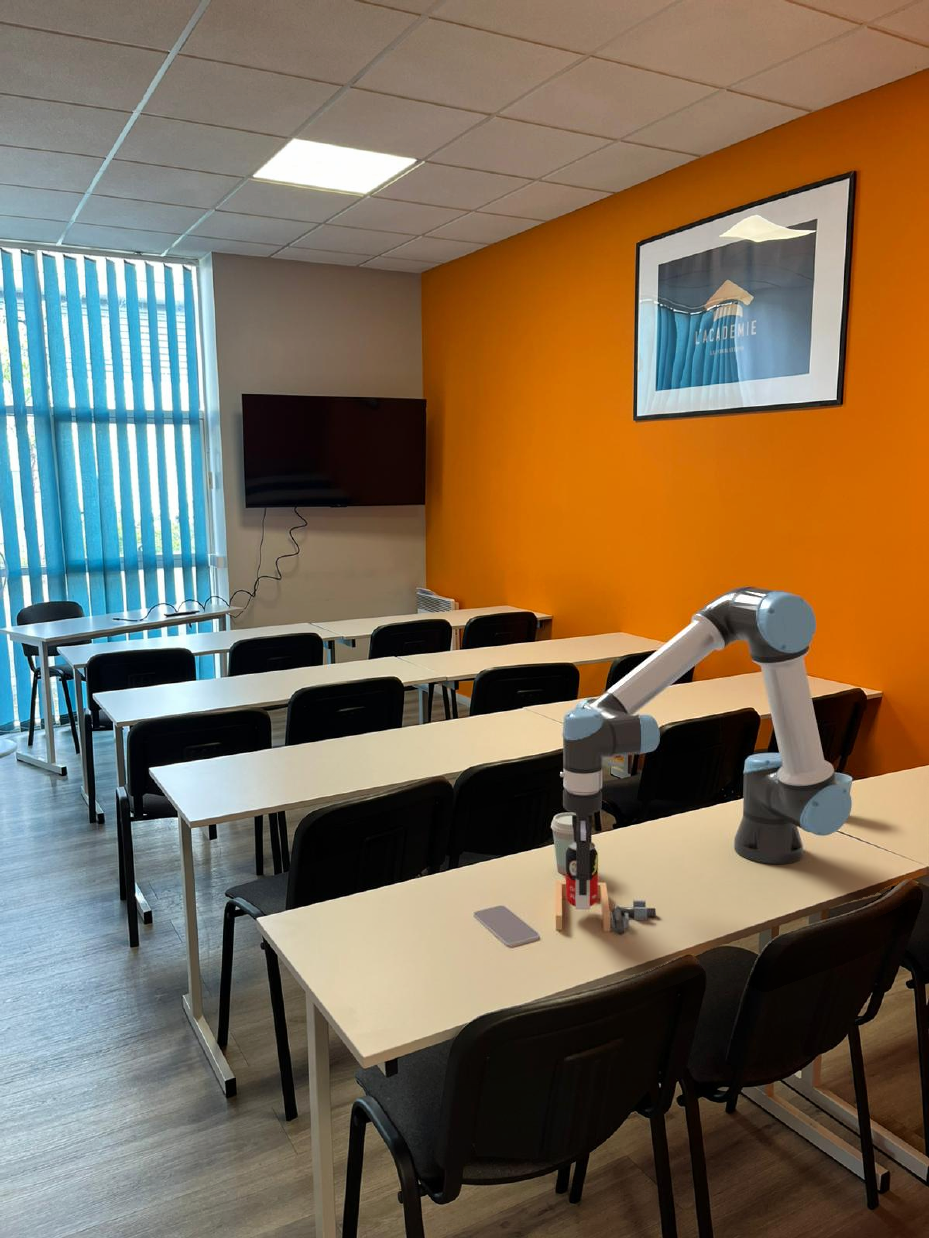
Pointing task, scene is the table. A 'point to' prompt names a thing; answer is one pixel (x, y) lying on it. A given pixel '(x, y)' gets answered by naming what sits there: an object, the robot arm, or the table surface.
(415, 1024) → the table surface
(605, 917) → the end holder
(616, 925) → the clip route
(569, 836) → the coffee cup
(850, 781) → the cup
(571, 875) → the beverage can
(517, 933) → the smartphone
